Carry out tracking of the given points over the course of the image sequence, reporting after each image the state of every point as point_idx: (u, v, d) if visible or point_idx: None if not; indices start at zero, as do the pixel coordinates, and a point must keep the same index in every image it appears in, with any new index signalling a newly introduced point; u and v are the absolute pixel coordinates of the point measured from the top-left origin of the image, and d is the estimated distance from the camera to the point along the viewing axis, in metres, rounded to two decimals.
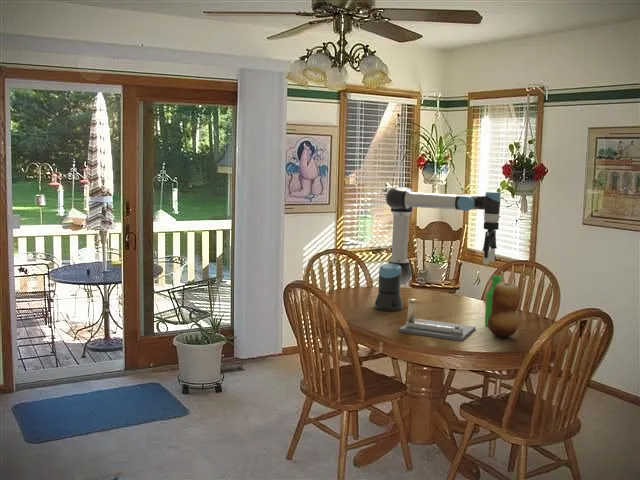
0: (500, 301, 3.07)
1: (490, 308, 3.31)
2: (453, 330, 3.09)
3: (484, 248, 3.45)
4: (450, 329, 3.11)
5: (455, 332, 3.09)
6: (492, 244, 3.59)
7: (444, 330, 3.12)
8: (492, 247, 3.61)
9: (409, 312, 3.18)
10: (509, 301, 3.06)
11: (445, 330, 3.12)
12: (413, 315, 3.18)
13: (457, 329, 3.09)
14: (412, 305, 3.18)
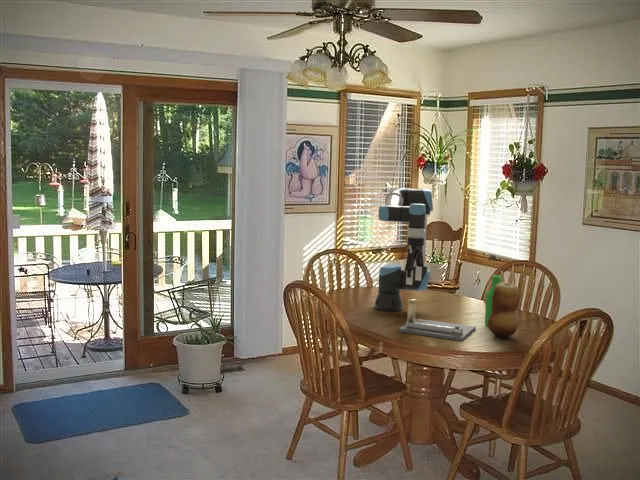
0: (500, 301, 3.07)
1: (490, 308, 3.31)
2: (453, 330, 3.09)
3: (406, 267, 3.09)
4: (450, 329, 3.11)
5: (455, 332, 3.09)
6: (418, 262, 3.22)
7: (444, 330, 3.12)
8: (419, 265, 3.24)
9: (409, 312, 3.18)
10: (509, 301, 3.06)
11: (445, 330, 3.12)
12: (413, 315, 3.18)
13: (457, 329, 3.09)
14: (412, 305, 3.18)
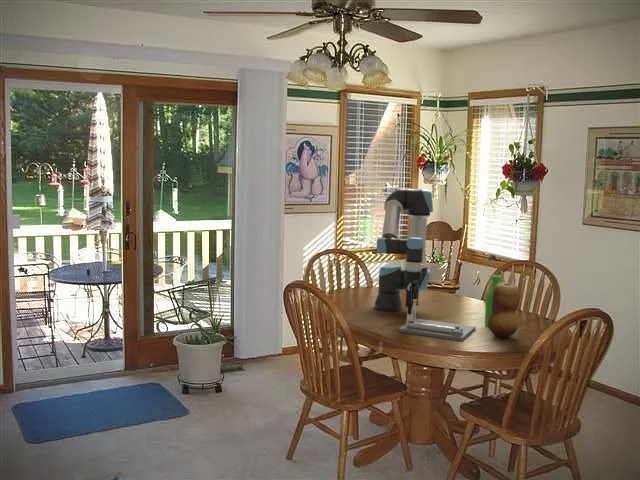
0: (500, 301, 3.07)
1: (490, 308, 3.31)
2: (453, 330, 3.09)
3: (407, 304, 3.15)
4: (450, 329, 3.11)
5: (455, 332, 3.09)
6: (413, 298, 3.21)
7: (444, 330, 3.12)
8: None
9: None
10: (509, 301, 3.06)
11: (445, 330, 3.12)
12: (413, 315, 3.18)
13: (457, 329, 3.09)
14: None
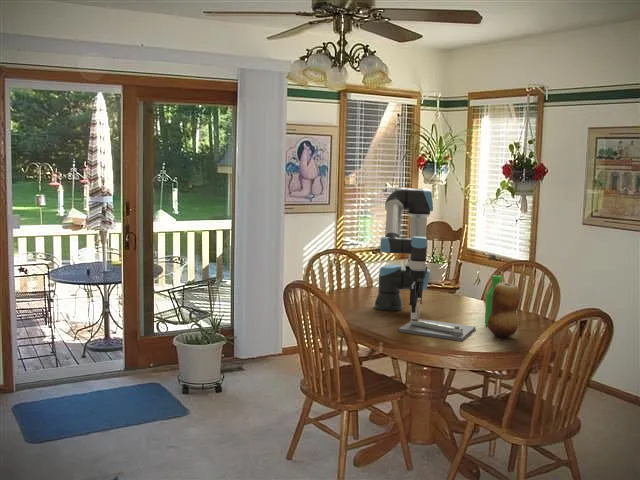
0: (500, 301, 3.07)
1: (490, 308, 3.31)
2: (452, 330, 3.10)
3: (411, 302, 3.19)
4: (450, 329, 3.12)
5: (454, 332, 3.09)
6: None
7: (444, 329, 3.13)
8: None
9: None
10: (508, 301, 3.06)
11: (445, 329, 3.13)
12: None
13: (456, 329, 3.09)
14: None
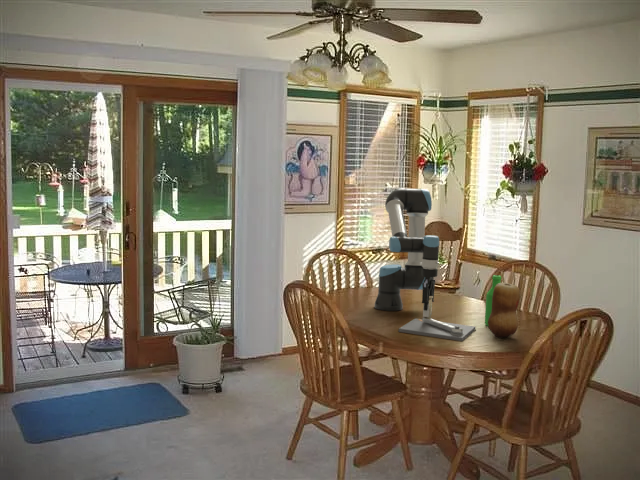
0: (500, 301, 3.07)
1: (490, 308, 3.31)
2: (451, 329, 3.11)
3: (423, 300, 3.24)
4: (451, 328, 3.13)
5: (452, 331, 3.10)
6: (429, 295, 3.30)
7: (447, 329, 3.15)
8: None
9: None
10: (509, 301, 3.06)
11: (447, 329, 3.15)
12: None
13: (455, 329, 3.09)
14: None
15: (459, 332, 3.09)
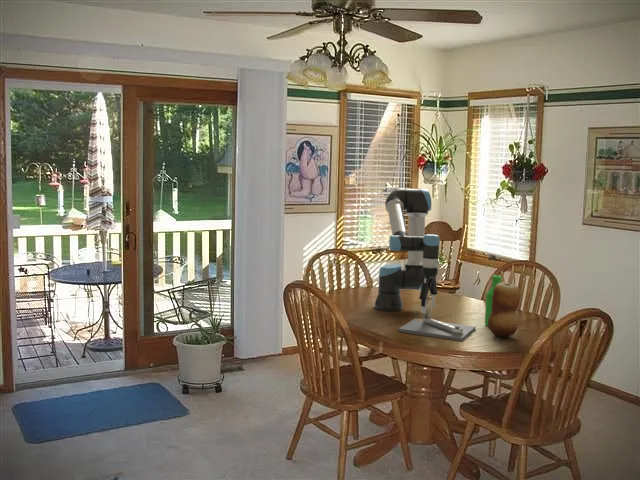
0: (500, 301, 3.07)
1: (490, 308, 3.31)
2: (451, 329, 3.11)
3: (421, 296, 3.20)
4: (451, 328, 3.13)
5: (452, 331, 3.10)
6: (432, 290, 3.33)
7: (447, 329, 3.15)
8: (432, 293, 3.35)
9: None
10: (509, 301, 3.06)
11: (447, 329, 3.15)
12: (427, 311, 3.28)
13: (455, 329, 3.09)
14: None
15: (459, 332, 3.09)
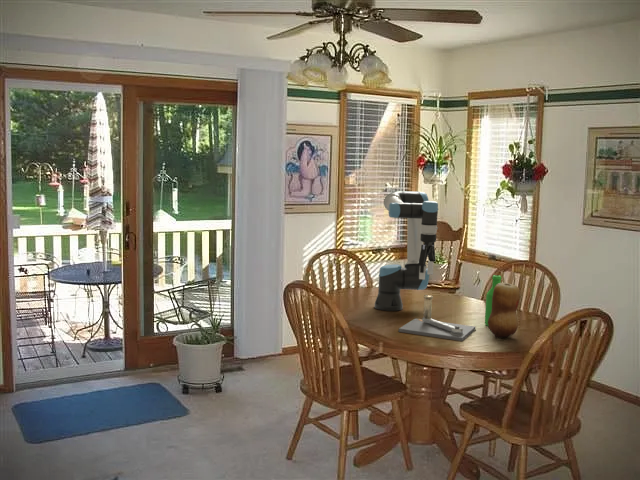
0: (500, 301, 3.07)
1: (490, 308, 3.31)
2: (451, 329, 3.11)
3: (419, 262, 3.21)
4: (451, 328, 3.13)
5: (452, 331, 3.10)
6: (430, 257, 3.35)
7: (447, 329, 3.15)
8: (431, 260, 3.36)
9: (424, 308, 3.29)
10: (509, 301, 3.06)
11: (447, 329, 3.15)
12: (427, 311, 3.28)
13: (455, 329, 3.09)
14: (426, 301, 3.28)
15: (459, 332, 3.09)
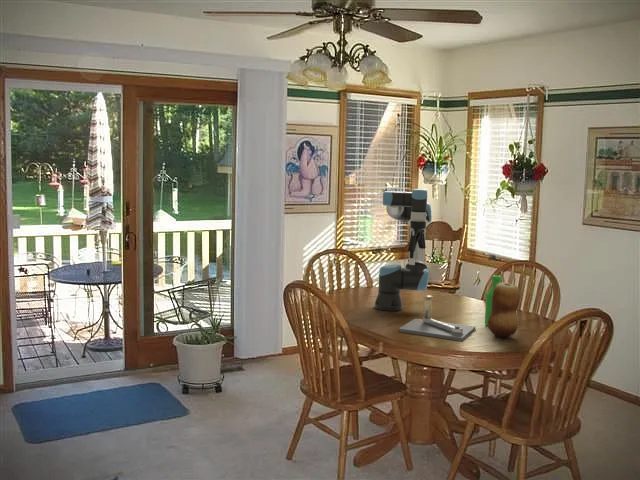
0: (500, 301, 3.07)
1: (490, 308, 3.31)
2: (451, 329, 3.11)
3: (409, 248, 3.30)
4: (451, 328, 3.13)
5: (452, 331, 3.10)
6: (420, 244, 3.43)
7: (447, 329, 3.15)
8: (421, 247, 3.45)
9: (424, 308, 3.29)
10: (508, 301, 3.06)
11: (447, 329, 3.15)
12: (427, 311, 3.28)
13: (455, 329, 3.09)
14: (426, 301, 3.28)
15: (459, 332, 3.09)
